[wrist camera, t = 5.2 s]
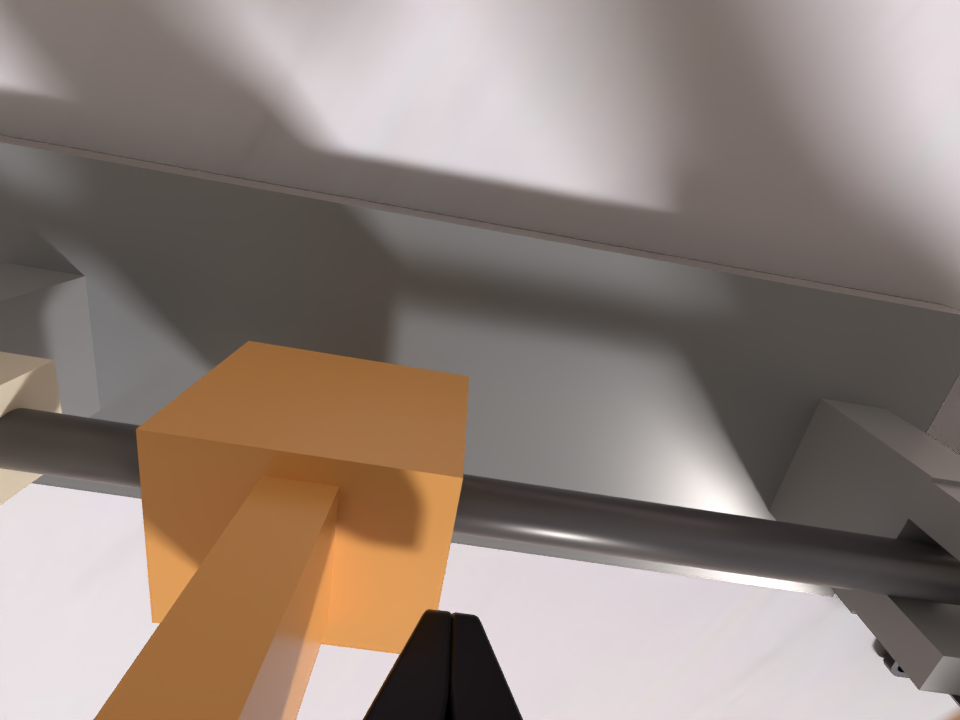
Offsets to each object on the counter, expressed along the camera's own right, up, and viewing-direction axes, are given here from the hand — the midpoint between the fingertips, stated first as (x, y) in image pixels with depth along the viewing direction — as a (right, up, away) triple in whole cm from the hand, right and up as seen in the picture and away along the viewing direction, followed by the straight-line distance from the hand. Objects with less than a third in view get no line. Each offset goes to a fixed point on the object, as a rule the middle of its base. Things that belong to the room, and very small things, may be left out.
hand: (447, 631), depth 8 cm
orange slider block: (-3, +2, +5) cm, 6 cm away
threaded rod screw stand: (0, +3, +8) cm, 9 cm away
